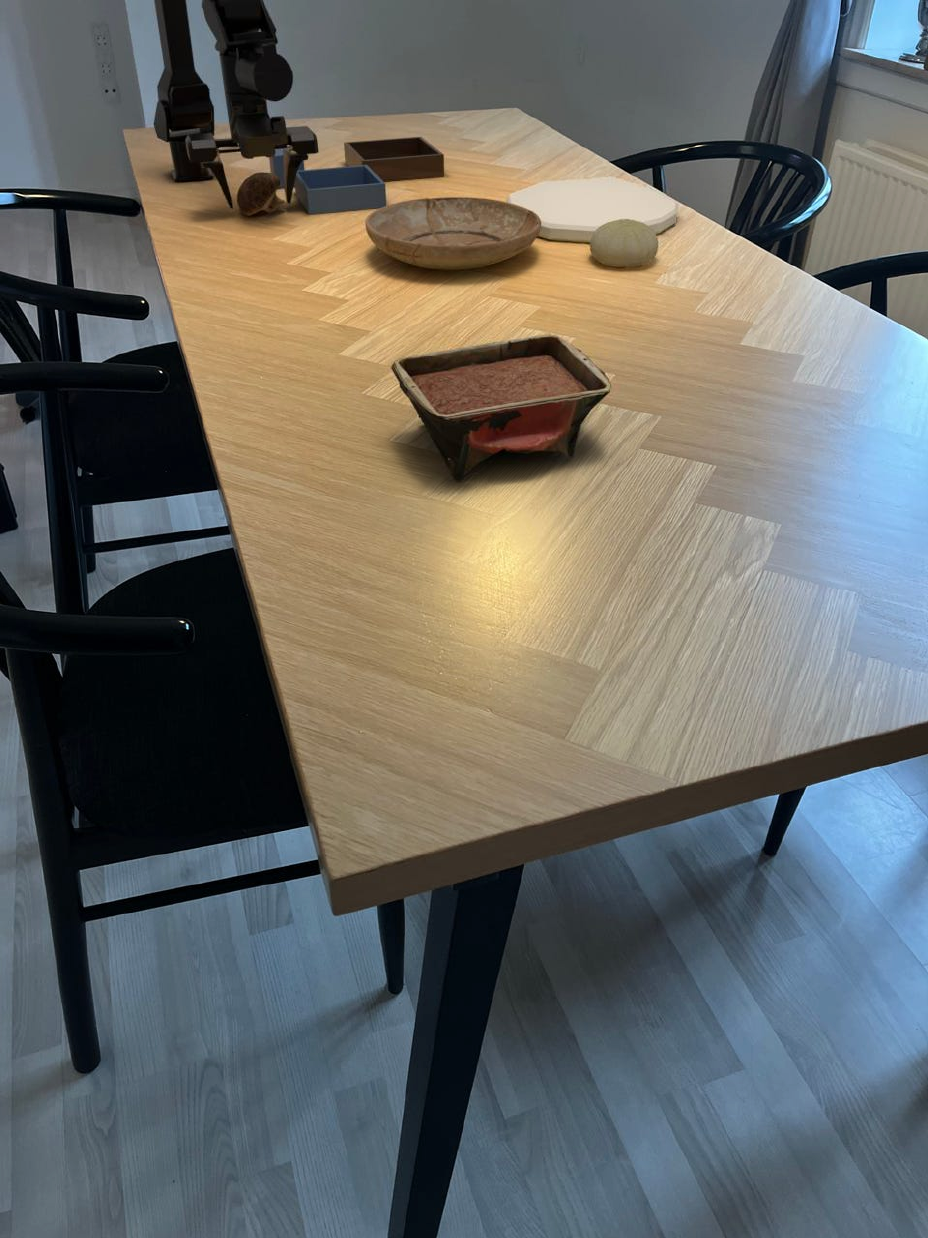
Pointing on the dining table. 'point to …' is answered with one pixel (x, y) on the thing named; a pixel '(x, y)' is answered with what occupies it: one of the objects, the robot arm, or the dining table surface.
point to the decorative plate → (593, 206)
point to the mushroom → (259, 193)
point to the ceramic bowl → (452, 231)
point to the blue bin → (339, 189)
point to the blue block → (280, 166)
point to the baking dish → (502, 397)
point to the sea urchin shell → (624, 243)
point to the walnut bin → (396, 158)
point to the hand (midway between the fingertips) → (260, 205)
